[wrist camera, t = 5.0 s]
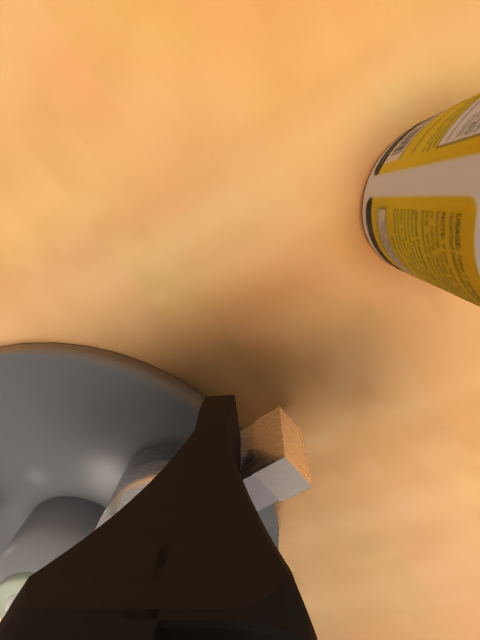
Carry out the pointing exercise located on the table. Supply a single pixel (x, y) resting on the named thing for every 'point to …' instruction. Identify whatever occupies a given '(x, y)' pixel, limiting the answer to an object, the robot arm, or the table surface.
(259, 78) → the table surface
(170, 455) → the silver metal rounded piece
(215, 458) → the robot arm
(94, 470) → the tribrach plate
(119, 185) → the table surface
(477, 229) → the supplement bottle
